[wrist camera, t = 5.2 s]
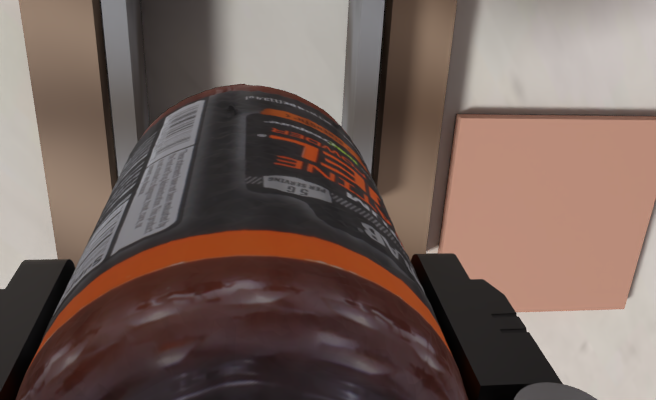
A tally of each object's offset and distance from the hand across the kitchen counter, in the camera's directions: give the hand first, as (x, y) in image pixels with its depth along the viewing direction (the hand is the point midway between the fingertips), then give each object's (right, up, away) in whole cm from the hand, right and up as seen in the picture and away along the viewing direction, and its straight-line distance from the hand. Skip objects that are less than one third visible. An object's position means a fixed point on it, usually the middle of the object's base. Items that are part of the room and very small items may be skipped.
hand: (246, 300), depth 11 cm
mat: (+12, +1, +19) cm, 22 cm away
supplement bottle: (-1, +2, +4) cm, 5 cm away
